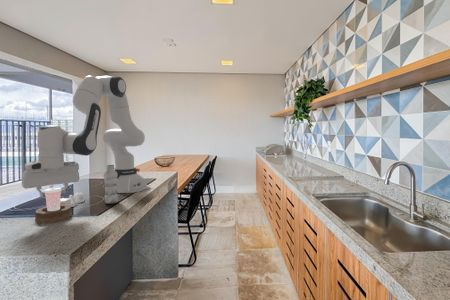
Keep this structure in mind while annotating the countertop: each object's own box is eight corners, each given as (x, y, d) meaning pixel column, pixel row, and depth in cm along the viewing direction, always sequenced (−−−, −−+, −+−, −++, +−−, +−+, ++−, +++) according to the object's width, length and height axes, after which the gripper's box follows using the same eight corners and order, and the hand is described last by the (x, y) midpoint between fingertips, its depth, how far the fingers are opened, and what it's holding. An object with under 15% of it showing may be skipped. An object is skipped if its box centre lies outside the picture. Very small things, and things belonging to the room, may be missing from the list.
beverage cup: (47, 208, 107) (46, 176, 106) (64, 206, 109) (62, 176, 108) (42, 212, 102) (41, 179, 101) (60, 210, 104) (58, 178, 103)
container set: (65, 212, 113) (65, 200, 113) (53, 212, 113) (53, 201, 113) (86, 200, 133) (86, 190, 133) (76, 200, 133) (76, 190, 132)
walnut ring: (66, 211, 115) (65, 202, 114) (75, 217, 106) (74, 208, 106) (33, 218, 105) (32, 208, 105) (40, 225, 97) (39, 215, 97)
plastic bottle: (113, 205, 123) (112, 166, 122) (101, 204, 125) (100, 165, 123) (121, 201, 130) (120, 164, 128) (109, 201, 131) (108, 164, 130)
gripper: (76, 160, 114) (77, 189, 115) (19, 164, 99) (21, 198, 100) (81, 161, 110) (82, 191, 111) (22, 166, 94) (24, 201, 95)
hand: (53, 195), depth 105 cm, fingers closed on beverage cup, 6 cm apart
